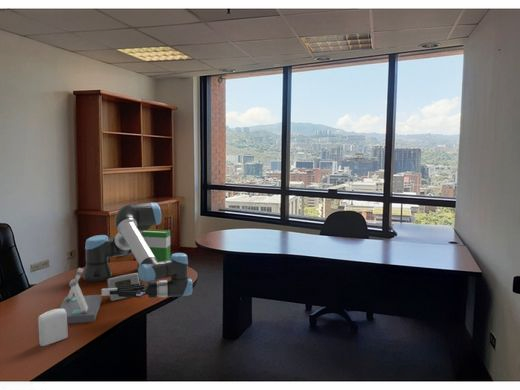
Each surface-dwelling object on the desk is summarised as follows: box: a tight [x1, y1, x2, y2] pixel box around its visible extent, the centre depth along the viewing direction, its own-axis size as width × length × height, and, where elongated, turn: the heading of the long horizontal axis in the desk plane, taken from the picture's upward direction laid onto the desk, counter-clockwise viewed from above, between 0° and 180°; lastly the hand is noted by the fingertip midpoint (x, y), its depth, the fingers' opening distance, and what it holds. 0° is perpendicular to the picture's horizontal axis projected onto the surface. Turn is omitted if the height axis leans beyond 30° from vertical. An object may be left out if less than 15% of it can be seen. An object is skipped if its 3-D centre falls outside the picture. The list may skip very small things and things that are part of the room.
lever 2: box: [68, 278, 88, 314], centre depth 178 cm, size 2×5×15 cm, turn 13°
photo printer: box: [37, 308, 69, 347], centre depth 159 cm, size 10×4×12 cm, turn 140°
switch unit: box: [58, 294, 103, 324], centre depth 187 cm, size 16×24×3 cm, turn 14°
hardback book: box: [137, 228, 171, 269], centre depth 249 cm, size 18×7×24 cm, turn 84°
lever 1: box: [66, 267, 85, 302], centre depth 193 cm, size 2×5×15 cm, turn 15°
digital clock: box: [106, 272, 140, 302], centre depth 206 cm, size 16×9×11 cm, turn 122°
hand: (101, 292), depth 180 cm, fingers closed
